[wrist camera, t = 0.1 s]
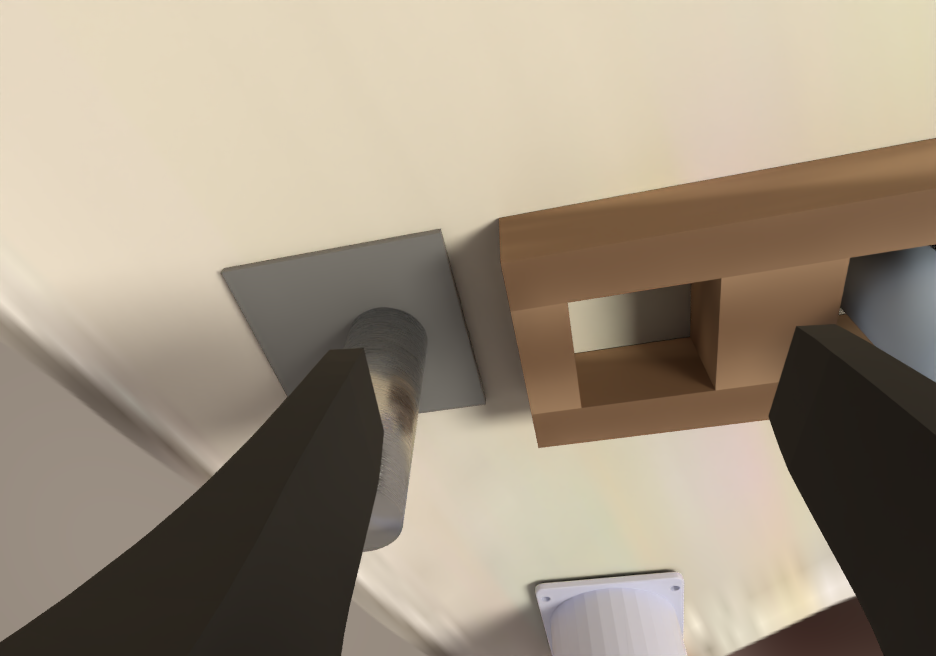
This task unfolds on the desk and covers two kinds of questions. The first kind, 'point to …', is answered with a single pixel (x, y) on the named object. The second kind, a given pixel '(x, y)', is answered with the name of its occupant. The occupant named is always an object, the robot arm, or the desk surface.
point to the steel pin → (392, 407)
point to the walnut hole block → (702, 286)
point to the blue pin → (896, 304)
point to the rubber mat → (360, 309)
